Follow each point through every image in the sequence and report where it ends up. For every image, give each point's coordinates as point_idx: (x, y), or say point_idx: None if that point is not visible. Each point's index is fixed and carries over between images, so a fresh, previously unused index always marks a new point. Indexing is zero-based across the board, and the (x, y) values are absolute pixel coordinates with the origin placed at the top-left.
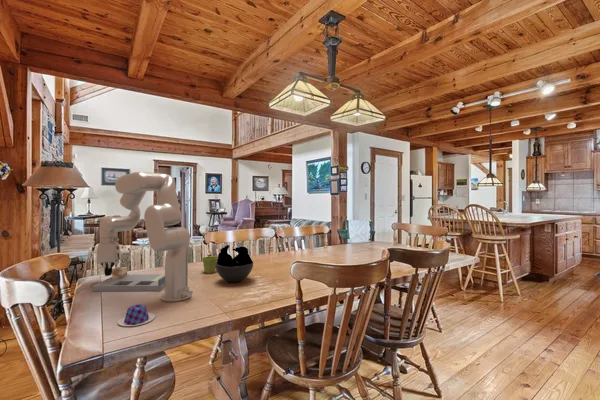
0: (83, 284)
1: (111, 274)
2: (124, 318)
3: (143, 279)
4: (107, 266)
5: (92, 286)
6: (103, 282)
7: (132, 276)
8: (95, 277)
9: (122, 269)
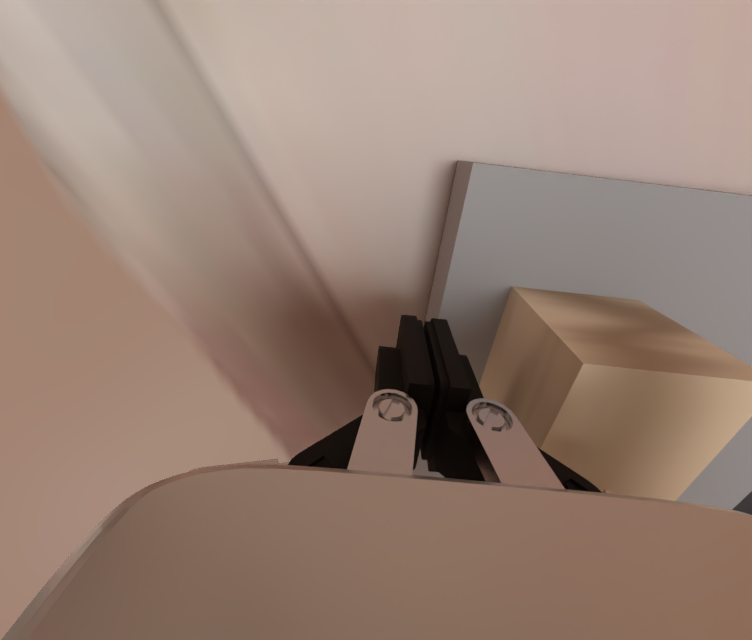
0: (202, 340)
1: (444, 320)
2: None
3: None
4: (415, 452)
5: None
6: (437, 473)
7: (705, 316)
8: (75, 3)
9: (673, 494)
